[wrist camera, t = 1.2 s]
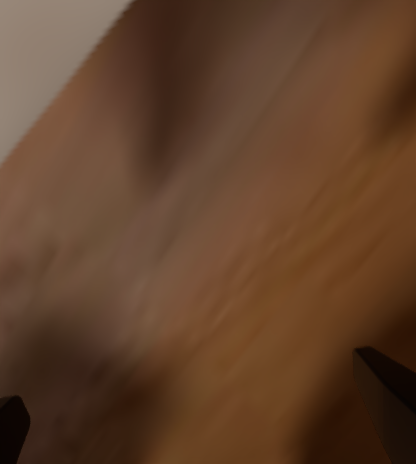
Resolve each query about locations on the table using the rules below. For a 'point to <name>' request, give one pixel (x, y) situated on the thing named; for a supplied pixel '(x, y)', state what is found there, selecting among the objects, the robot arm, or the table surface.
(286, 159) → the table surface
